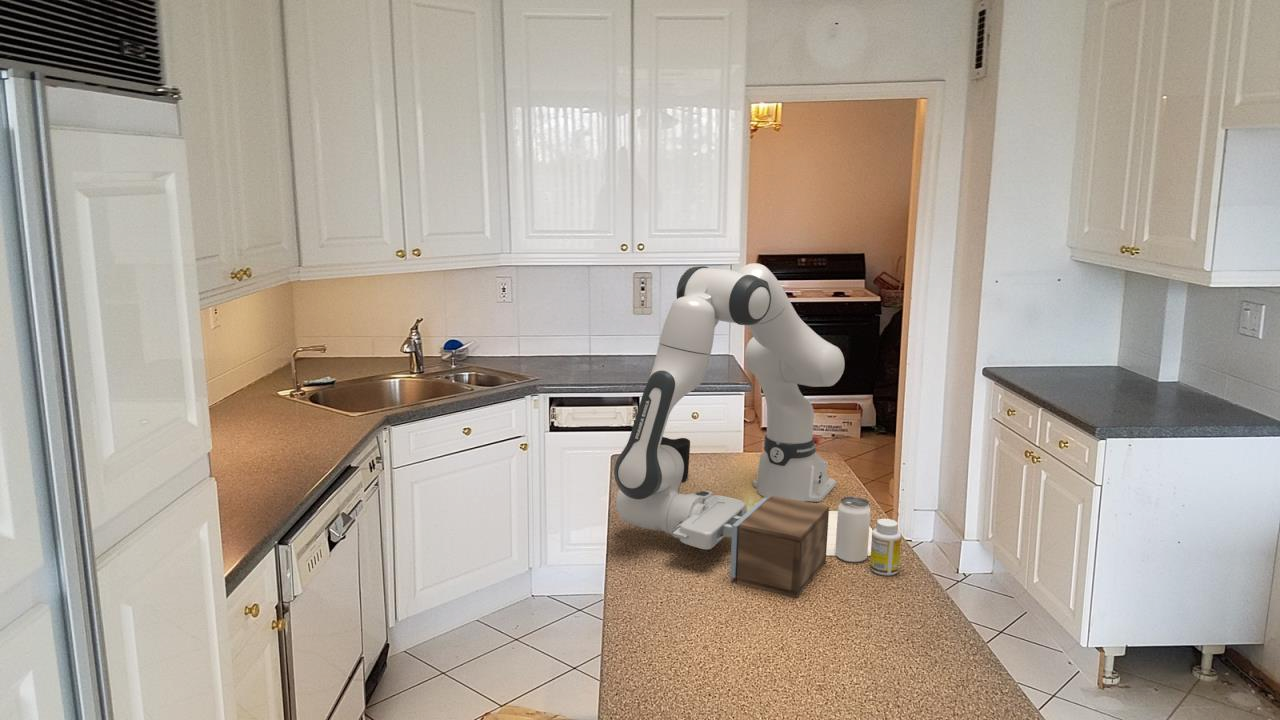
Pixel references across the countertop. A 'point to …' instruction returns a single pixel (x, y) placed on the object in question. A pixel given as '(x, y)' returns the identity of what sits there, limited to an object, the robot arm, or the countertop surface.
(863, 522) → the can
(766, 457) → the robot arm
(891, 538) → the supplement bottle
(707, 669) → the countertop surface
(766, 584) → the crate
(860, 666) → the countertop surface
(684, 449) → the pen holder
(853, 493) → the countertop surface
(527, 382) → the countertop surface
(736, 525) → the flap
